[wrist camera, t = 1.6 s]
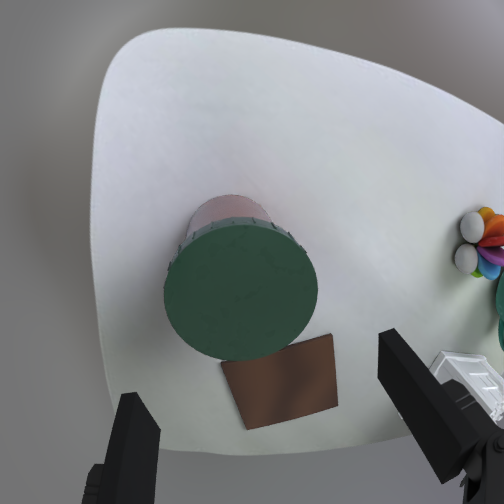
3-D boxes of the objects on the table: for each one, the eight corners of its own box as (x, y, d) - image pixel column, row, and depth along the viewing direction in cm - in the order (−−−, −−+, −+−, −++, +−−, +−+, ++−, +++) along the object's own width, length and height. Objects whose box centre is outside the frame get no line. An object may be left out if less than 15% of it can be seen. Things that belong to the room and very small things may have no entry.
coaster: (246, 427, 43) (247, 430, 42) (220, 361, 38) (221, 365, 37) (337, 403, 43) (338, 405, 43) (331, 333, 38) (332, 335, 37)
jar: (200, 286, 34) (196, 362, 22) (176, 207, 31) (154, 251, 19) (280, 266, 34) (315, 333, 22) (263, 185, 31) (296, 216, 19)
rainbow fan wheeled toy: (495, 205, 35) (531, 219, 28) (483, 268, 38) (515, 288, 32) (458, 202, 34) (497, 217, 27) (446, 272, 38) (479, 296, 31)
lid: (192, 358, 24) (191, 374, 22) (147, 238, 20) (141, 247, 18) (318, 326, 24) (325, 340, 22) (298, 199, 20) (306, 206, 18)
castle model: (440, 350, 43) (493, 409, 29) (483, 355, 46) (528, 401, 32) (397, 413, 47) (434, 474, 33) (444, 410, 50) (479, 459, 36)
